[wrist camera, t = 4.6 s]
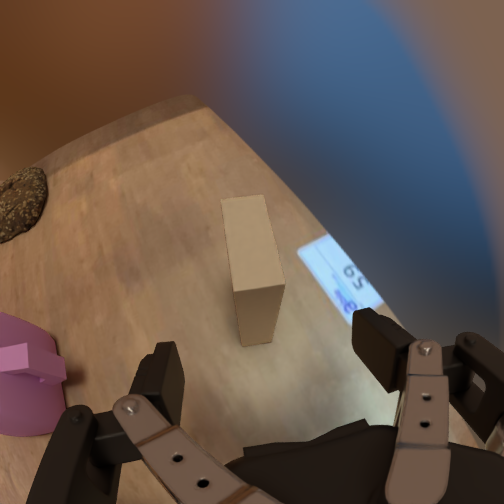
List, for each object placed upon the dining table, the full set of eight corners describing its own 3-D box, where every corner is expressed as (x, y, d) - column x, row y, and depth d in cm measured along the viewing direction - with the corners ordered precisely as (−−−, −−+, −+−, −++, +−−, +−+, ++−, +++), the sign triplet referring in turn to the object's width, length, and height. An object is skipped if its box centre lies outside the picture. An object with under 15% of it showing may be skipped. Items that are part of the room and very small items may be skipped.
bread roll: (52, 167, 35) (39, 144, 31) (47, 221, 29) (28, 196, 25) (-3, 200, 32) (-17, 181, 28) (-14, 257, 26) (-34, 237, 22)
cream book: (259, 281, 25) (263, 193, 16) (271, 342, 22) (286, 283, 13) (232, 285, 25) (220, 199, 16) (241, 347, 22) (233, 291, 13)
